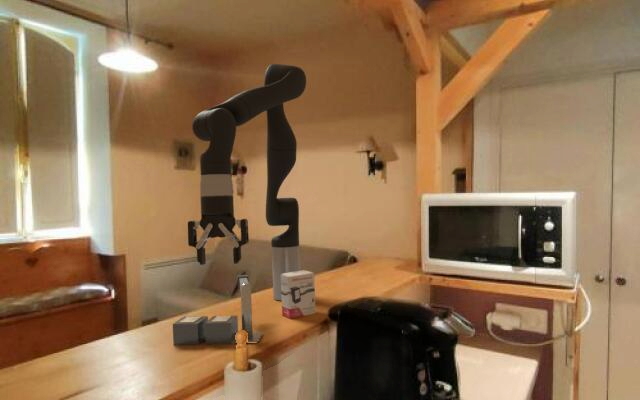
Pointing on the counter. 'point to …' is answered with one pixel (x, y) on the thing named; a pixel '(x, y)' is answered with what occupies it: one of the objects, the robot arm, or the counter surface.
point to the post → (247, 314)
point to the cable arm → (242, 280)
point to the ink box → (298, 294)
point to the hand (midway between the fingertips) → (219, 263)
